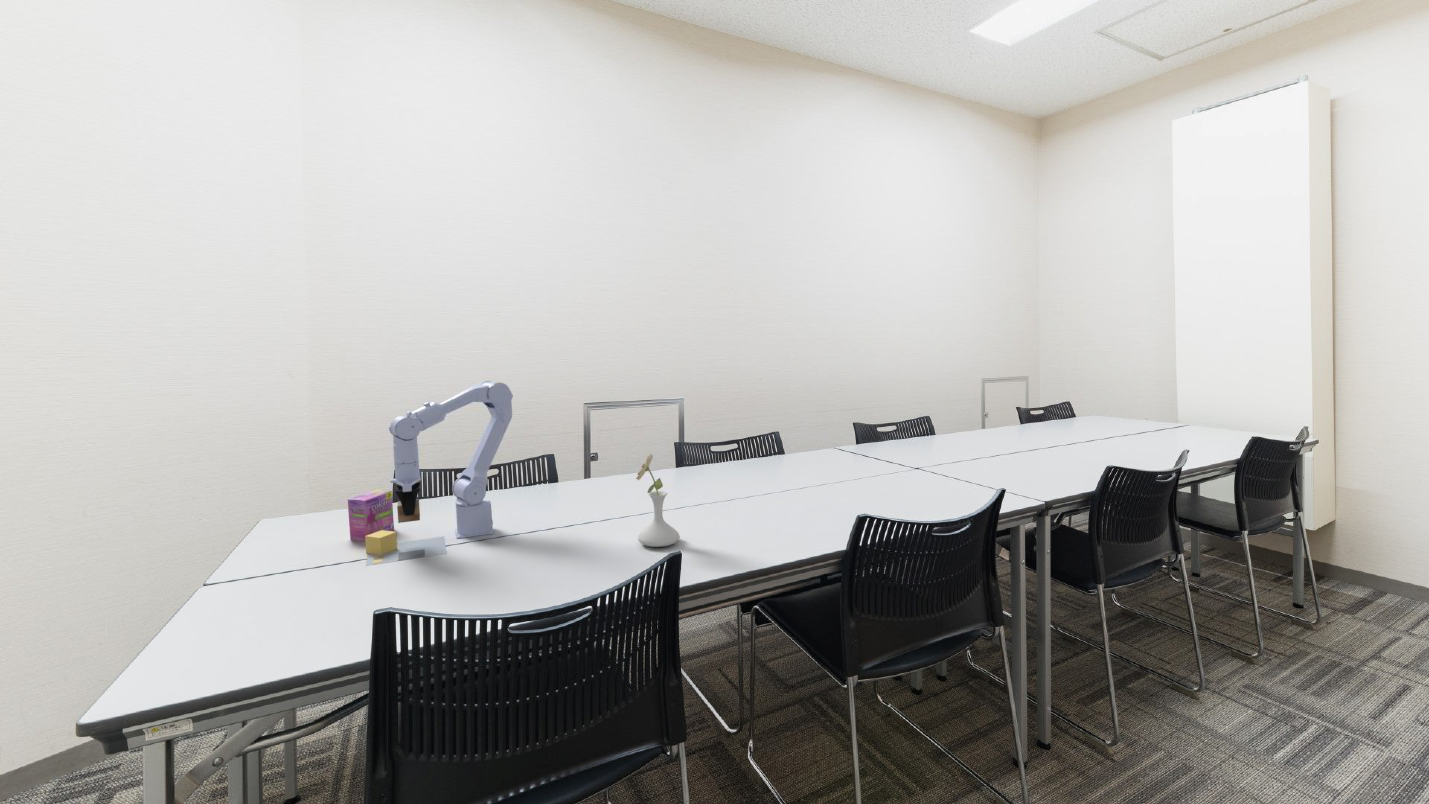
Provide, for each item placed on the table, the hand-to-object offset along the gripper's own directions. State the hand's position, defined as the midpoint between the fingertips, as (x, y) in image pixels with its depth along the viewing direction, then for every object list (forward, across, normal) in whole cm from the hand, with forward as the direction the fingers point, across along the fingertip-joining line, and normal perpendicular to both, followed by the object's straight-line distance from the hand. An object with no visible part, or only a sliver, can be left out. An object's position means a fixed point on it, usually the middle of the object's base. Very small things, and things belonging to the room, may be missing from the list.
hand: (409, 512), depth 157 cm
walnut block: (+2, 0, 0) cm, 2 cm away
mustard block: (+9, +1, -7) cm, 12 cm away
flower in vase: (+10, +28, +60) cm, 66 cm away
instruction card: (+9, +3, -1) cm, 10 cm away
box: (+10, -15, -10) cm, 21 cm away
